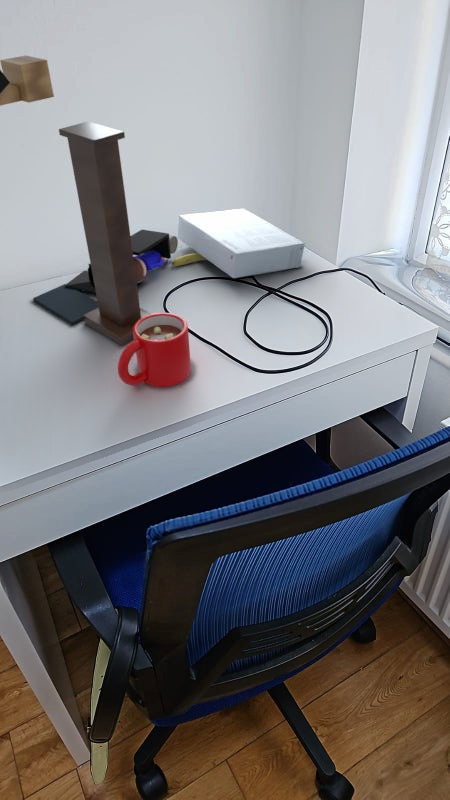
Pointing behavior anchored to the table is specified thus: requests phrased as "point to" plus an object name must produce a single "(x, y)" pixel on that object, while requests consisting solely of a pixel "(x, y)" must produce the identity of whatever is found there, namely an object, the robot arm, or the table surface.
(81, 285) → the black angular block
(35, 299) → the mat
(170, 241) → the figurine character
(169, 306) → the table surface
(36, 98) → the wooden toy mallet
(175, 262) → the banana
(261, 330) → the table surface
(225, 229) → the skincare box
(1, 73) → the robot arm
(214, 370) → the table surface
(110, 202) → the stand
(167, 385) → the mug
